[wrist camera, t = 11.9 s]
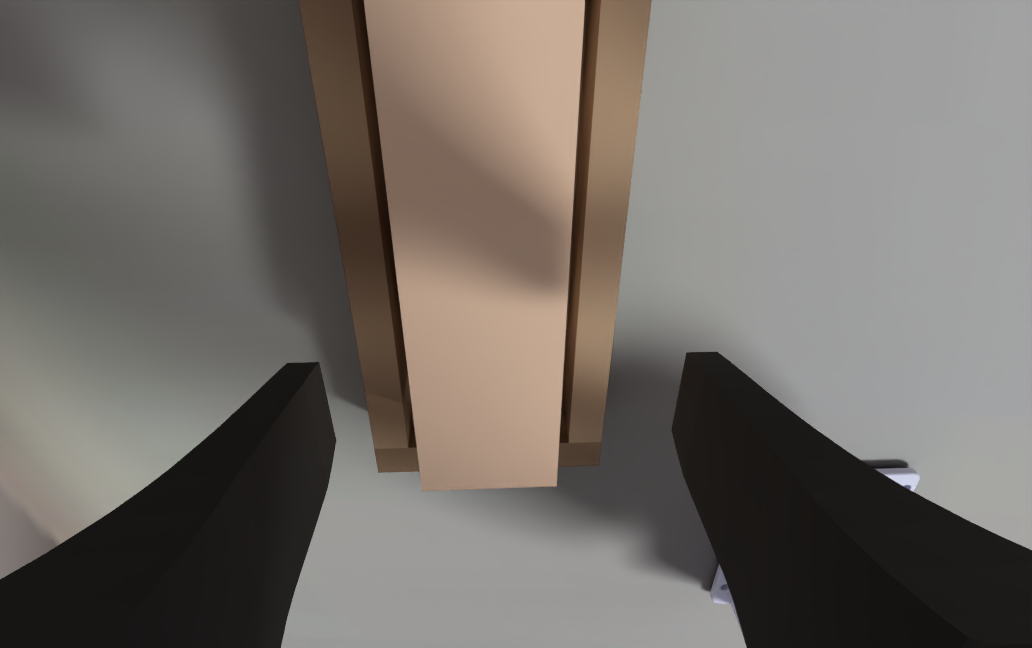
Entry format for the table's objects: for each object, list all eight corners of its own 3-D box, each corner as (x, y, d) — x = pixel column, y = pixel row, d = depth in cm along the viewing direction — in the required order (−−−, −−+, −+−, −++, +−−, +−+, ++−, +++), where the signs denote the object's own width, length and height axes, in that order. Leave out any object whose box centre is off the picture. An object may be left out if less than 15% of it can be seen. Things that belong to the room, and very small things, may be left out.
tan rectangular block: (540, 373, 22) (556, 486, 18) (434, 376, 22) (422, 491, 18) (554, -27, 15) (585, -13, 11) (398, -27, 15) (362, -13, 11)
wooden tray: (589, 415, 25) (601, 465, 22) (385, 421, 24) (375, 472, 22) (641, -127, 15) (672, -139, 13) (303, -131, 15) (269, -145, 12)
